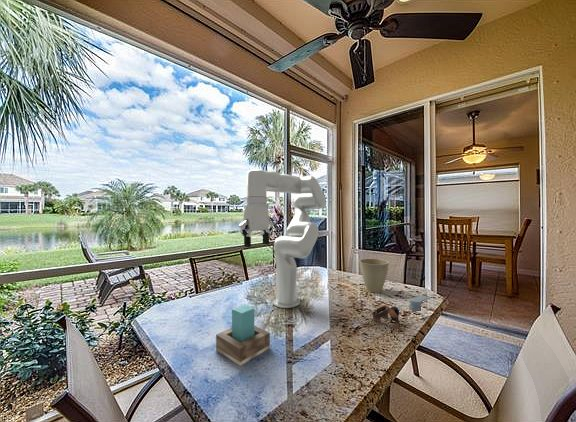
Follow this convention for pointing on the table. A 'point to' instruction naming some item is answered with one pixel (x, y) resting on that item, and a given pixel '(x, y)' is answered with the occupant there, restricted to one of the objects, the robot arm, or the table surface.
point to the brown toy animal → (384, 312)
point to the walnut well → (242, 345)
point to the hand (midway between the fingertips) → (257, 245)
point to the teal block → (242, 323)
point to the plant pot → (374, 273)
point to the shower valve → (416, 303)
